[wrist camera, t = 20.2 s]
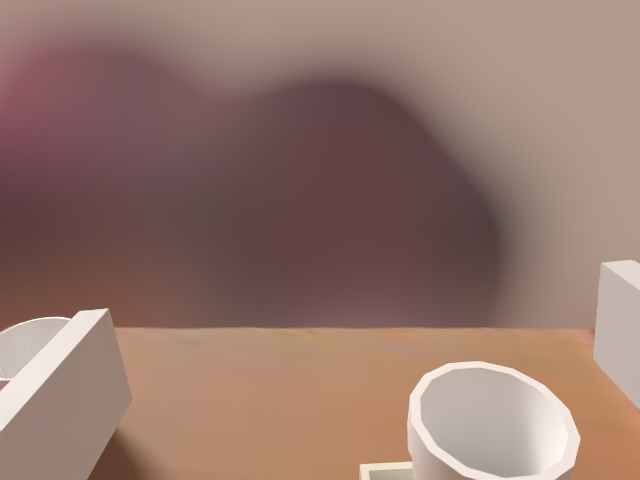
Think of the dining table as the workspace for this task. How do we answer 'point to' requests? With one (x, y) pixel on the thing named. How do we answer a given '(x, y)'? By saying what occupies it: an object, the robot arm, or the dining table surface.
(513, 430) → the foam cup
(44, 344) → the white cup
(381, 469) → the grey flat rectangular tray
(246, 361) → the dining table surface
